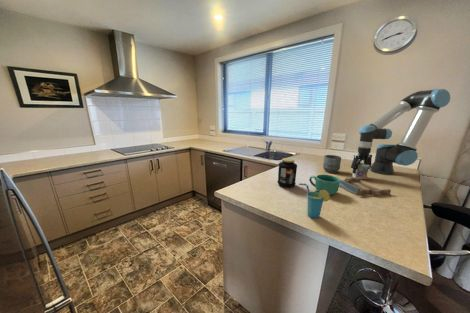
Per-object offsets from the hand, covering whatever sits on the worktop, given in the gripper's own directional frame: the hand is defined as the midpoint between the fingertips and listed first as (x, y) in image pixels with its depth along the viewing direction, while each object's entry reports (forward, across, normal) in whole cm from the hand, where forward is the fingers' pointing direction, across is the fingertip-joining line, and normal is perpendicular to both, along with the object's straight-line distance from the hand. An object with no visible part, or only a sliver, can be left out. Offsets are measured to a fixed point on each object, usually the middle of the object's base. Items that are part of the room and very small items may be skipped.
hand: (359, 176), depth 136 cm
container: (+2, +61, +2) cm, 61 cm away
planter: (+1, +11, -17) cm, 20 cm away
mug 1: (+1, +44, +16) cm, 46 cm away
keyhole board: (+1, +18, +17) cm, 24 cm away
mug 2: (+1, -1, 0) cm, 1 cm away
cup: (+2, +67, +38) cm, 77 cm away
